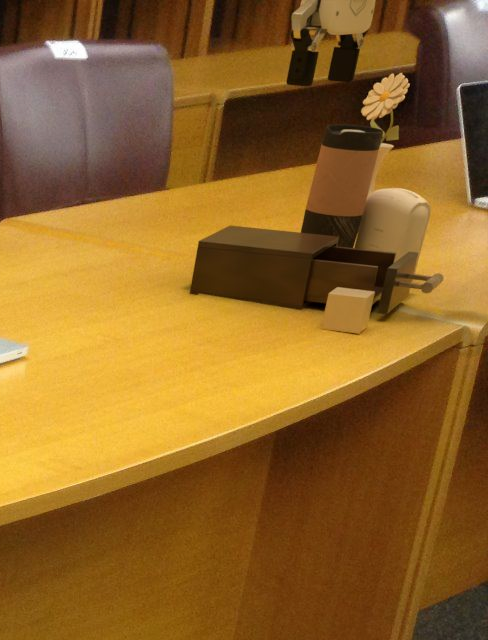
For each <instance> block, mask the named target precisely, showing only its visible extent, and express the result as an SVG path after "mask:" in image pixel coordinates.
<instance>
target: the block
mask: <svg viewBox="0 0 488 640" xmlns="http://www.w3.org/2000/svg"><path fill="white" fill-rule="evenodd" d="M374 294H375V292H374V291H366V290H358V289H349V288H341V287H337V288H335V289H334V290H333V291H331V292H330V293H329V294H328V299H327V303H325V308H324V313H323V316H322V317H323V318H322V323H321V327H320V329H321V330H327V331H334V332H341V333H342V332H343V333H350V334H356V335H359V334H361V333H362V332H363V331H364V330H366V329H367V328H368V324H369V320H370V315H371V311H372V306H373V305H372V303H373V298H374Z"/></svg>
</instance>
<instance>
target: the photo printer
mask: <svg viewBox="0 0 488 640" xmlns="http://www.w3.org/2000/svg"><path fill="white" fill-rule="evenodd" d="M431 214H432V209H431V205H430V204H429V202H428V201H427V200H426V199H425V198H424V197H423V196H421V195H419V194H418V193H416V192H414V191H412V190H410V189H406V188H401V187H388V188H380V189H377V190H374V192H373V193H372V194H371V195H370V196H369V197H368V199H367V201H366V204H365V208H364V212H363V215H362V219H361V223H360V227H359V231H358V233H357V237H356V240H355V244H354V247H353V248H357V249H366V250H376V251H385V252H395V253H396V258H395V262H396V261H397V260H399V259H400V258H401V257H403V256H404V255H405V254H407V253H408V252H418V256H417V261H416V265H415V269H414V273H413V274H416V270H417V267H418V263H419V259H420V256H421V255H420V254H421V251H422V247H423V244H424V240H425V237H426V233H427V229H428V226H429V223H430V218H431ZM395 262H394V263H395ZM413 281H414V279H412V282H413Z"/></svg>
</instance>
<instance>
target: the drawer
mask: <svg viewBox="0 0 488 640" xmlns="http://www.w3.org/2000/svg"><path fill="white" fill-rule="evenodd" d="M417 256H418V252H408V253H407V254H405V255H404V256H403V257H401V258H400V259H399V260H397V261H396V262H395V258H396V253H395V252H385V251H376V250H366V249H357V248H354V247H353V248H347V247H338V246H331V247H330V248H328V249H327V250H325V251H324V252H322V253H320V254H319V255H317V256H316V257H314V258H313V261H312V266H311V271H310V276H309V281H308V285H307V290H306V295H305V300H304V301H311V303H318V304H319V303H320V304H326V303H327V299H328V294H329V293H330V292H331V291H333V290H334V289H335V288H337V287H341V288H349V289H358V290H366V291H374V292H375V294H374V298H373V303H372V306H373V305H374V304H375V303H377V301H378V300H379V304H378V308H377V314H381V315H388V314H389V313H390V312H391V311H393V310H394V309H395V308H396V307H397V306H399V305H400V304H401V303H402V302H403V301H404V300H405V299H406V298H408V297H409V294H410V291H411V289H415V290H421V292H422V293H423V294H430V293H432V292H433V291H434V290H435V289H436V288H437V287H439V286H440V285H441V284H442V283H443V281H444V275H443V274H441V273H440V272H439V273H434V274H433V275H425V274H416V273H415V274H413V273H414V269H415V265H416V261H417ZM394 262H395V263H394ZM412 279H413V281H415V280H416V281H425V282H424V283H419V282H413V281H412Z"/></svg>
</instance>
